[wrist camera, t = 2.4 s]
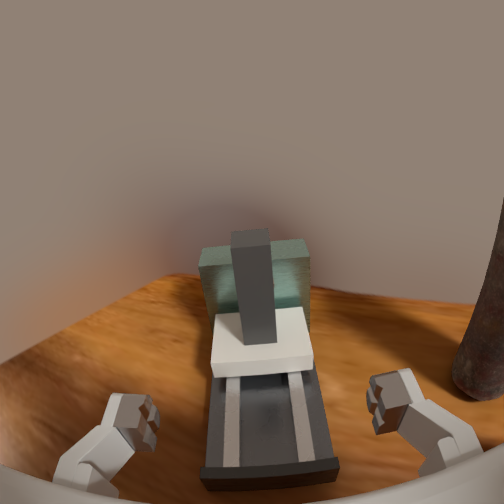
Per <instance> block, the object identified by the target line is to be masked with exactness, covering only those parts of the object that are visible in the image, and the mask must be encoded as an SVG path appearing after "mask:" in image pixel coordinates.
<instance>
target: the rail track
mask: <svg viewBox="0 0 504 504" xmlns="http://www.w3.org/2000/svg"><path fill="white" fill-rule="evenodd" d="M270 244H271V257H272V271H273V285H274V299H275V309H284V308H293V307H302V308H303V312H304V316H305V320H306V325H307V329H308V333H309V332H310V255H309V252H308V249H307V246H306V244H305V241H304V239H293V240H283V241H272V242H270ZM198 267H199V273H200V278H201V283H202V287H203V292H204V297H205V302H206V306H207V311H208V315H209V320H210V324H211V329H212V333H213V335H214V325H215V316H216V314H226V313H239V306H238V299H237V292H236V285H235V278H234V271H233V264H232V257H231V250H230V246H220V247H209V248H203V249H202V253H201V257H200V261H199V265H198ZM339 469H340V466H339V461H338V457H334V454H333V449H332V444H331V439H330V434H329V429H328V424H327V419H326V414H325V410H324V405H323V400H322V395H321V391H320V386H319V381H318V377H317V372H316V368H315V363H314V359H313V369H311V370H303V371H294V372H285V373H275V374H263V375H251V376H236V377H217V378H214V374H213V373H212V385H211V397H210V409H209V422H208V435H207V449H206V463H205V467H201V468H200V479H201V481H202V483H203V484H204V486H205V487H206V489H207V490H208V491H250V490H268V489H281V488H291V487H300V486H308V485H315V484H322V483H329V482H335V481H336V478H337V475H338V472H339Z"/></svg>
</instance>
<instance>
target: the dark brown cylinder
mask: <svg viewBox="0 0 504 504" xmlns="http://www.w3.org/2000/svg"><path fill="white" fill-rule="evenodd" d="M452 378H453V381H454V383H455V384H456V386H457V387H458V388H459V389H461V390H462V391H464V392H465V393H466V394H468V395H469V396H471V397H473V398H475V399H477V400H479V401H486V400H492V399H496V398H499V397H500V396H502V395H503V394H504V199H503V205H502V210H501V215H500V220H499V225H498V230H497V234H496V238H495V242H494V246H493V250H492V254H491V258H490V262H489V265H488V269H487V272H486V276H485V280H484V283H483V286H482V289H481V292H480V295H479V298H478V301H477V303H476V306H475V309H474V312H473V314H472V317H471V320H470V323H469V325H468V328H467V330H466V332H465V335H464V337H463V340H462V342H461V344H460V347H459V349H458V352H457V354H456V356H455V359H454V361H453V365H452Z"/></svg>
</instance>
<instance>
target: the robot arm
mask: <svg viewBox="0 0 504 504" xmlns="http://www.w3.org/2000/svg"><path fill="white" fill-rule="evenodd" d="M369 383H370V386H371V387H370V388H369V389H368V390H367V395H366V397H367V406H368V410H369V412H370V413H371V414H372V415H374V417H373V420H372V423H373V426H374V430H375V433H376V435H380V434H385V433H390V432H394V431H397V432H398V433H399V434H400V435H401V436H402V437H403V438H404V439H406V440H407V441H408V442H409V443H410V444H411V445H412V446H413V447H415V448H416V449H417V450H418V451H419V452H420V453H421V454H423V455H424V456H425V457H426V460H425V461H424V463H423V464H422V465H421V467H420V468H419V470H418V473H419V476H420V478H417V479H414V480H411V481H408V482H405V483H401V484H398V485H394V486H391V487H387V488H383V489H379V490H375V491H371V492H367V493H362V494H358V495H353V496H348V497H343V498H337V499H331V500H325V501H319V502H312V503H304V504H504V443H502V444H500V445H498V446H496V447H494V448H492V449H490V450H488V451H486V452H483V449H482V447H481V445H480V443H479V440H478V438H477V436H476V434H475V432H474V430H473V427H472V426H470V425H469V424H467V423H465V422H464V421H462V420H461V419H459V418H458V417H456V416H454V415H453V414H451V413H450V412H448V411H447V410H445V409H443V408H442V407H440V406H439V405H437V404H436V403H434V402H433V401H431V400H429V399H427V400H425V398H424V396H423V394H422V392H421V389H420V387H419V385H418V383H417V381H416V379H415V377H414V375H413V373H412V371H411V369H410V368H405V369H401V370H397V371H391V372H387V373H382V374H378V375H373V376H371V377H370V381H369ZM152 401H153V400H152V398H151V396H150V395H140V394H125V393H113V394H112V395H111V396H110V398H109V401H108V404H107V407H106V410H105V413H104V416H103V419H102V422H101V425H97V426H96V427H95V428H93V429H92V430H91V431H90V432H89V433H88V434H87V435H85V436H84V437H83V438H82V439H81V440H80V441H78V442H77V443H76V444H75V445H74V446H73V447H71V448H70V449H69V450H68V451H67V452H65V453H64V454H63V455H62V456H61V457H60V459H59V462H58V465H57V468H56V471H55V474H54V477H53V480H52V482H49V481H46V480H43V479H40V478H37V477H34V476H31V475H28V474H25V473H22V472H20V471H17V470H14V469H12V468H9V467H7V466H4V465H2V464H0V504H151V503H143V502H136V501H130V500H124V499H118V496H119V490H118V489H117V488H116V487H115V486H113V485H112V484H111V483H110V481H111V479H112V478H113V477H114V476H115V475H116V474H117V472H118V471H119V470H120V469H121V468H122V467H123V465H124V464H125V463H126V462H127V461H128V460H129V458H130V457H131V456H132V455H133V454H134V453H135V451H143V452H155V447H156V441H157V437H156V436H155V434H154V433H155V432H156V431H157V430H158V429H159V425H160V415H159V411H158V409H157V407H156V406H154V405H153V404H152Z"/></svg>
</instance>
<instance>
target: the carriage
mask: <svg viewBox="0 0 504 504" xmlns="http://www.w3.org/2000/svg"><path fill="white" fill-rule="evenodd" d="M230 250H231V257H232V264H233V271H234V278H235V285H236V292H237V299H238V306H239V313H226V314H216V316H215V325H214V335H213V344H212V354H211V367H212V370H213V374H214V378H217V377H236V376H251V375H263V374H275V373H285V372H294V371H303V370H311V369H313V351H312V346H311V342H310V337H309V333H308V329H307V325H306V320H305V316H304V312H303V308H302V307H293V308H284V309H275V299H274V285H273V271H272V257H271V244H270V238H269V232H268V228H266V229H256V230H245V231H235V232H232V234H231V245H230Z"/></svg>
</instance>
